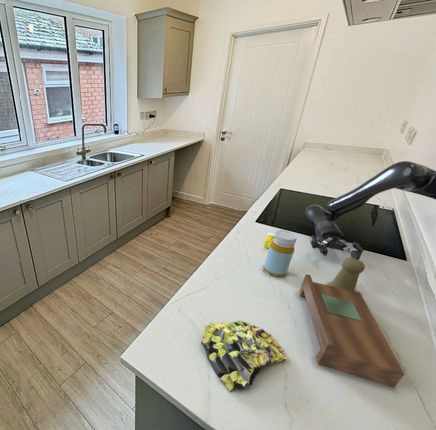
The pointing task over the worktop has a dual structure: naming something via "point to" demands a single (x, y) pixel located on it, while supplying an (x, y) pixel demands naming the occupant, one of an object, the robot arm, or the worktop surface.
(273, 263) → the bottle
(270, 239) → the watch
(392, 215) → the worktop surface
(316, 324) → the shelf
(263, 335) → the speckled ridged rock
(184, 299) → the worktop surface
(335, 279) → the olive knobbed peg
